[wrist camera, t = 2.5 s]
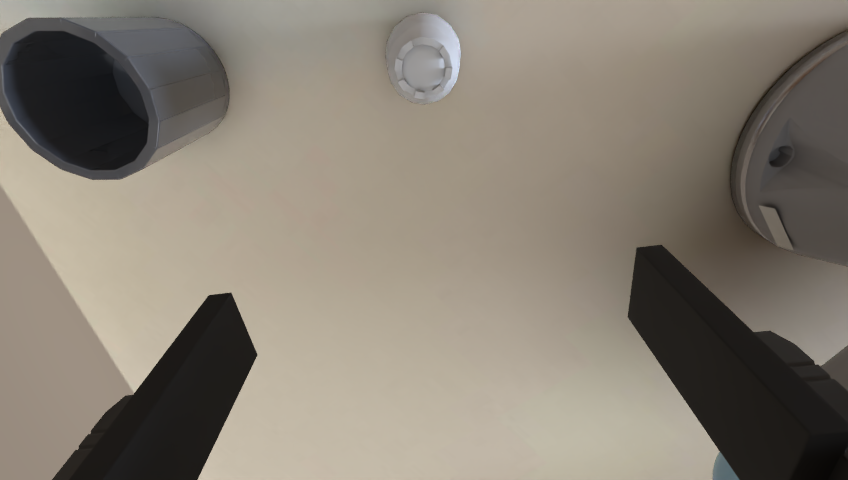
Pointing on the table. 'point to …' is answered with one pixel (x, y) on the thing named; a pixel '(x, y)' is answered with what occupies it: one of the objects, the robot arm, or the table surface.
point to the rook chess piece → (423, 58)
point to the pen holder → (109, 91)
